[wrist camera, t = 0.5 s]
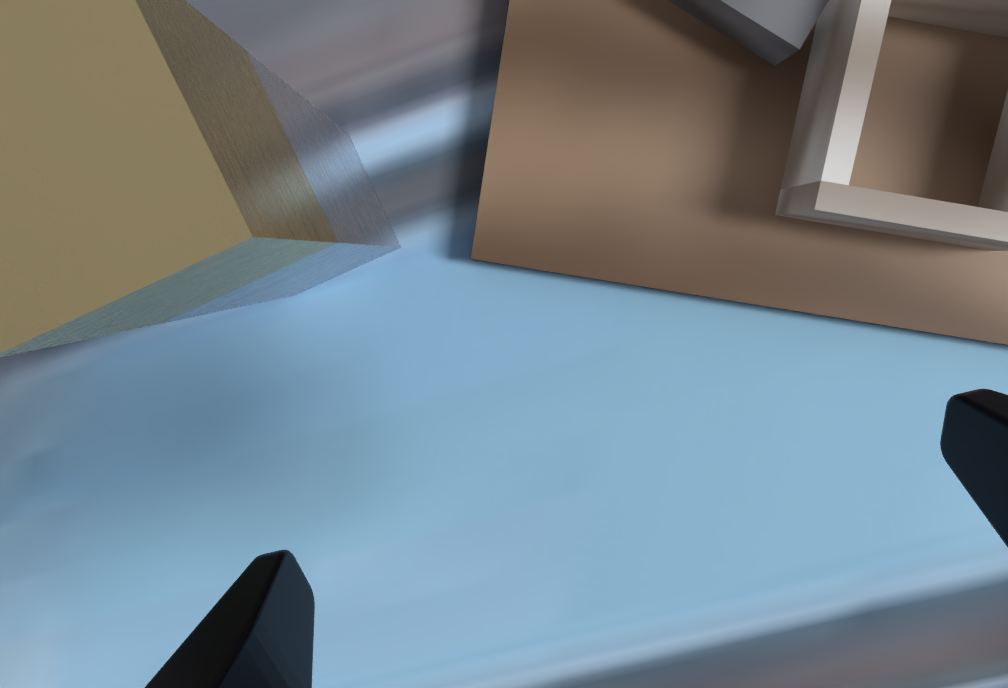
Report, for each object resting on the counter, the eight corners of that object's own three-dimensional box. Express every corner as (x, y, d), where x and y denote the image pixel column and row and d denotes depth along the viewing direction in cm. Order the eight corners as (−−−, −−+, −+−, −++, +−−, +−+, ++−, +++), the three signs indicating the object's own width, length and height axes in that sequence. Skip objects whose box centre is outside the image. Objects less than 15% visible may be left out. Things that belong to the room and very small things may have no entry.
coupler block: (400, 246, 21) (253, 237, 8) (293, 295, 21) (-18, 360, 8) (348, 133, 20) (101, -69, 8) (239, 184, 21) (-184, 71, 8)
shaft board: (1202, 375, 22) (1357, 402, 18) (471, 258, 21) (466, 259, 17) (1328, -15, 20) (1530, -81, 16) (535, -163, 19) (545, -270, 15)
